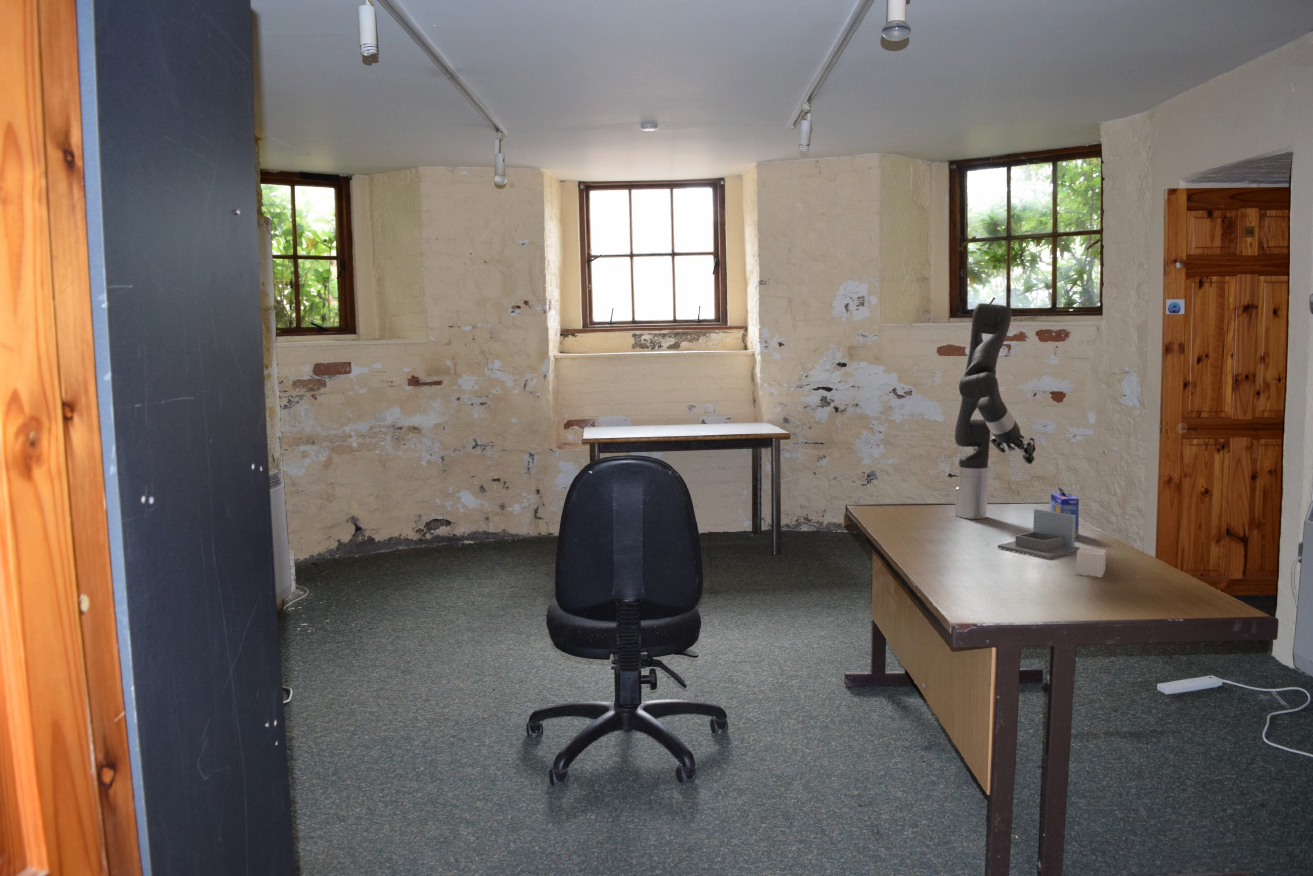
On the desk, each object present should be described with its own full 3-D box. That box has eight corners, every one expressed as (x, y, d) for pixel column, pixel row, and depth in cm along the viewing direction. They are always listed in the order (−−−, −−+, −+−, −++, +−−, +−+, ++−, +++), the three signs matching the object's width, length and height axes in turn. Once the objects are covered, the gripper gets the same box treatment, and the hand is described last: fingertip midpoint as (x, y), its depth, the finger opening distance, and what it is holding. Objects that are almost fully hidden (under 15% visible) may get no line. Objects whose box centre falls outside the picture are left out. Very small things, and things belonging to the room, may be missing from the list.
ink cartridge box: (1048, 530, 274) (1050, 485, 273) (1066, 530, 274) (1068, 485, 272) (1059, 537, 265) (1061, 490, 263) (1078, 538, 264) (1081, 491, 262)
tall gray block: (1009, 479, 267) (1010, 446, 266) (1017, 477, 269) (1018, 445, 268) (1022, 480, 263) (1023, 448, 262) (1030, 479, 266) (1031, 447, 264)
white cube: (1101, 578, 221) (1102, 554, 220) (1075, 574, 224) (1076, 551, 224) (1104, 572, 226) (1105, 549, 225) (1079, 569, 229) (1080, 547, 229)
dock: (997, 548, 252) (998, 514, 251) (1030, 540, 261) (1031, 508, 260) (1049, 559, 239) (1050, 524, 238) (1081, 551, 248) (1082, 516, 247)
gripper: (1029, 416, 254) (1051, 453, 262) (986, 413, 266) (1008, 449, 274) (1017, 435, 252) (1040, 472, 260) (975, 431, 263) (998, 467, 271)
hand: (1024, 460), depth 267 cm, fingers closed on tall gray block, 4 cm apart
